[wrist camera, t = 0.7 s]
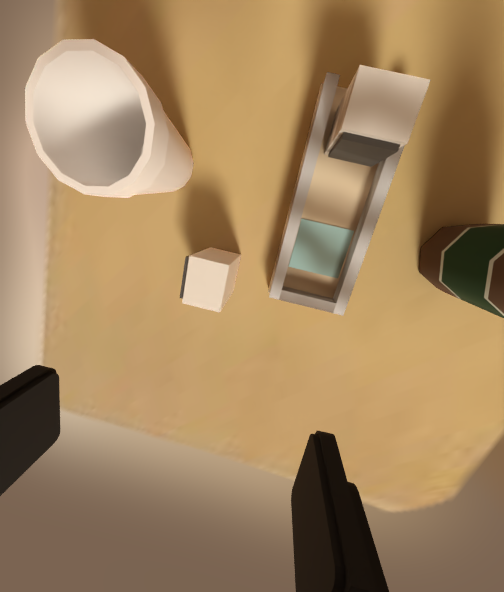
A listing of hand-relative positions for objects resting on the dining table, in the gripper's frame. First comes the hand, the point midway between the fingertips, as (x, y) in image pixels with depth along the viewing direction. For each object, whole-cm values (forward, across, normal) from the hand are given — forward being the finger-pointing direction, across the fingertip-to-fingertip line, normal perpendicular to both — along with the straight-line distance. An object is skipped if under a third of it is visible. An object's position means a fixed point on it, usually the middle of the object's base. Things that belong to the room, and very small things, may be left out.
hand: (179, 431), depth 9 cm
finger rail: (+25, -8, -10) cm, 28 cm away
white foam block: (+25, +4, -1) cm, 25 cm away
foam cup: (+25, +12, -12) cm, 30 cm away
